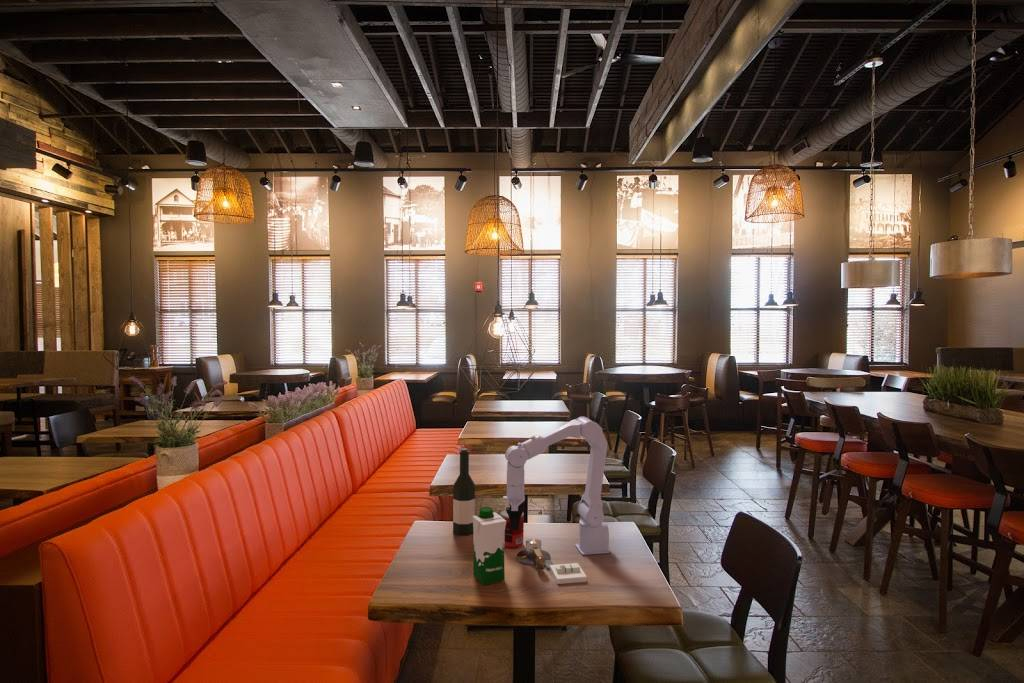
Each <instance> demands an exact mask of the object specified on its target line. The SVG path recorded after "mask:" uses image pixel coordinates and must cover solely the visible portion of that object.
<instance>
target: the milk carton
mask: <svg viewBox="0 0 1024 683" xmlns="http://www.w3.org/2000/svg"><path fill="white" fill-rule="evenodd" d="M505 526H506V520H504V519H503V517H501V514H499V513H497V512H496V511H494V509H493V508H492V507H490V506H483V507H481V508H479V514H475V516H473V534H472V535H473V545H472V546H473V547H472V550H473V551H472V553H473V554H472V557H473V558H472V559H473V563H472V564H473V565H472V567H473V568H472V569H473V573H472V574H473V576H474V577H475V578H476V579H477V581H479V583H481V585H482V586H486V585H489V584H494V583H495V584H496V583H500V582H502V581H503V582H504V581H505V580H506V579H505V576H506V575H505V548H504V542H505Z"/></svg>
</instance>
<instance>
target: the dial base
mask: <svg viewBox="0 0 1024 683" xmlns="http://www.w3.org/2000/svg"><path fill="white" fill-rule="evenodd" d="M541 553H542V555H543V556H544V557H545V569H546V570H547V571H550V570H549V565H554V563H553V561H552V560H551V558H552V557H551V554H550V553H549V552H548V551H547V550H544V549H541ZM516 560H517V562H519V563H520V564H523V565H526V566H534V567H535V566H536V567H537V565H536V563H535V561H534V559H531V558H528V557H526V548H525V549H522V550H520V551H518V552H517V553H516Z"/></svg>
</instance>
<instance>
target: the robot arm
mask: <svg viewBox="0 0 1024 683" xmlns="http://www.w3.org/2000/svg"><path fill="white" fill-rule="evenodd" d="M570 437H572V438H575V439H581V437H582V438H583V439H584V440H585V441H586V442H587V443H588V445H589V446H590V453H589V460H588V467H587V474H586V481H585V482H586V483H585V488H584V490H585V491H584V493H583V494H582V495H581V498H580V499H581V500H580V501H579V503H578V505H577V514H579V516H580V519H579V520H578V521H579V527H578V528H579V531H578V532H579V533H578V536H579V538H578V543H575V544H574V545H575V547H576V548H577V550H578V551H579V552H580V554H581V555H582V556H585V555H600V554H601V555H602V554H609V553H610V546H609V545H610V544H609V543H610V532H609V526H608V524H607V522H604V520H605V514H604V511H603V507H604V505H603V501H602V489H603V480H604V474H605V467H606V466H605V465H606V459H607V452H608V442H607V439H606V436H605V435H604V432H603V428H602V427H601V426H600V425H599V424H598V423H597V422H596V421H593V420H591V419H589V418H588V417H586V416H582V415H581V416H579V417H577V418H575V419H572V420H570V421H569V422H567V423H565V424H564V425H562V426H559V427H558V428H556V429H554V430H553V431H551V432H549V433H547V434H546V435H544V436H541V435H531V436H530V438H529V439H527V440H525V441H523V442H518V443H517V445H511V446H509V447H508V448H507V450H506V451H505V454H504V457H505V459H506V462H507V464H506V467H507V468H506V495H504V496H502V499H503V501H506V502H507V503H508V505H509V506H508V507H505V510H506V512H507V514H508V516H509V519H510V525H511V529H512V530H518V529H519V524H520V519H521V516H522V514H523V513H524V511H525V509H524V508H522V507H523V505H524V503H525V500H526V496H525V464H526V462H527V461H529V460H531V459H533V458H535V457H537V456H539V455H541V454H543V453H545V452H546V451H547V449H548V447H549V446H551V445H553V444H555V443H558V442H561V441H563V440H565V439H568V438H570Z"/></svg>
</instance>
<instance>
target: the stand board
mask: <svg viewBox="0 0 1024 683" xmlns="http://www.w3.org/2000/svg"><path fill="white" fill-rule="evenodd" d="M548 571H549V572H550V573H551V575H552V576H551V577H553V579H554V582H555V583H556V585H562V584H563V585H564V584H573V583H574V584H576V583H585V582H587V581H588V576H587V575H586V573H585V572H584V570H583V569H582V567H581V566H580V564H579V562H574V563H560V564H553V565H549V570H548ZM587 583H588V582H587Z"/></svg>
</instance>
